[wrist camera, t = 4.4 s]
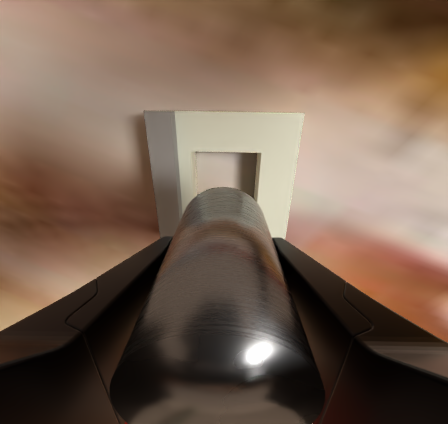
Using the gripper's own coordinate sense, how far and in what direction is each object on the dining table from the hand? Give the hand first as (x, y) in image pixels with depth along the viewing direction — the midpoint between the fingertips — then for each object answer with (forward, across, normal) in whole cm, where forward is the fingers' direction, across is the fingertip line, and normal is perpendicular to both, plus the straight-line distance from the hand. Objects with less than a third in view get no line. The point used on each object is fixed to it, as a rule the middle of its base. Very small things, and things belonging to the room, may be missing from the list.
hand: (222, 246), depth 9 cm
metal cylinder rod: (+2, 0, 0) cm, 2 cm away
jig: (+12, 0, 0) cm, 12 cm away
